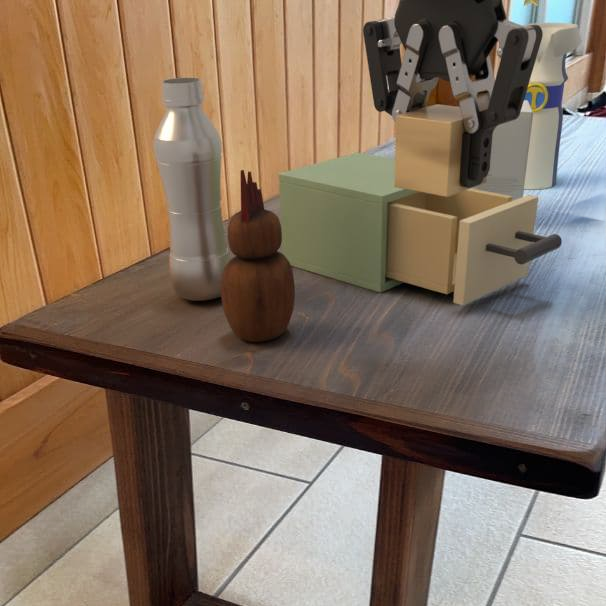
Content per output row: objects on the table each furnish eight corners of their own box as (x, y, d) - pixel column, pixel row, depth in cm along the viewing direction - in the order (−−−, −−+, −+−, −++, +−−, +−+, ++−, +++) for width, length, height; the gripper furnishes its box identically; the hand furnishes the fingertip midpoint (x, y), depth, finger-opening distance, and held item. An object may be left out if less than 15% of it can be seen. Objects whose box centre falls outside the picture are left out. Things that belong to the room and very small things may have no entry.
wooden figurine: (258, 354, 76) (247, 178, 67) (213, 339, 79) (197, 168, 71) (307, 331, 80) (303, 161, 72) (262, 317, 84) (253, 152, 75)
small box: (519, 228, 105) (534, 111, 97) (467, 227, 105) (477, 111, 98) (515, 209, 111) (528, 98, 103) (466, 209, 112) (475, 99, 104)
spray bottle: (555, 192, 117) (585, -25, 102) (493, 187, 120) (514, -25, 105) (565, 178, 123) (595, -29, 109) (506, 173, 126) (528, -29, 111)
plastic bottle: (245, 289, 90) (230, 76, 78) (214, 312, 85) (193, 88, 73) (192, 282, 92) (170, 73, 80) (159, 303, 87) (130, 85, 75)
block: (433, 173, 68) (437, 103, 65) (486, 182, 65) (492, 110, 62) (393, 187, 65) (395, 115, 62) (446, 197, 62) (451, 122, 59)
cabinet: (453, 262, 95) (460, 170, 89) (380, 292, 88) (382, 196, 82) (356, 237, 104) (356, 152, 98) (282, 263, 96) (278, 173, 91)
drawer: (568, 285, 86) (581, 204, 81) (504, 317, 79) (514, 232, 75) (425, 248, 96) (429, 176, 92) (358, 275, 90) (359, 198, 85)
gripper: (585, -106, 53) (549, 183, 63) (404, -96, 61) (398, 157, 71) (518, -102, 48) (491, 207, 59) (333, -93, 57) (337, 176, 67)
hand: (440, 178), depth 65 cm, fingers closed on block, 5 cm apart
